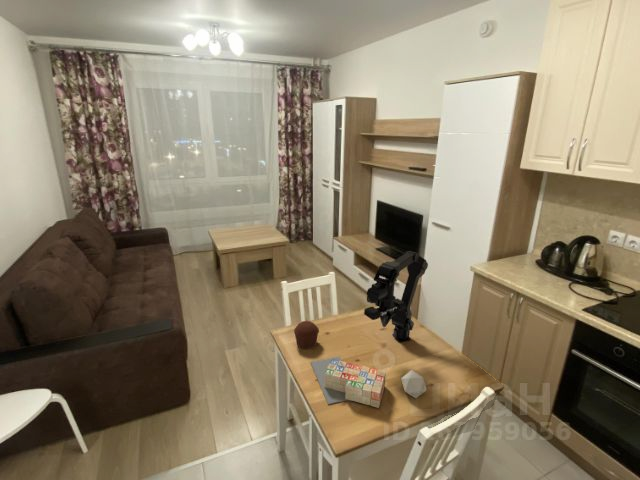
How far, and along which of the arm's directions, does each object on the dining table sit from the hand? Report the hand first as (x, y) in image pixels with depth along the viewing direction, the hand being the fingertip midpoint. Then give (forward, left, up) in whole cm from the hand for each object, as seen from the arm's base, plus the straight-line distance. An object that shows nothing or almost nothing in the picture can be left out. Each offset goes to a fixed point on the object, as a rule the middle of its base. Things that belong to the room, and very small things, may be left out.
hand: (384, 326), depth 145 cm
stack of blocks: (+17, +13, -10) cm, 23 cm away
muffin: (+30, -16, -13) cm, 36 cm away
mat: (+25, +10, -13) cm, 30 cm away
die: (0, +25, -13) cm, 28 cm away
